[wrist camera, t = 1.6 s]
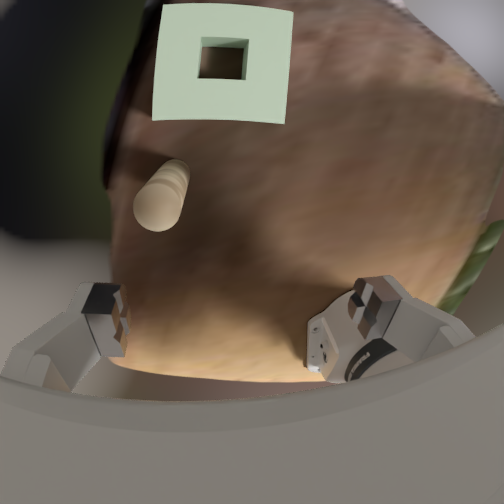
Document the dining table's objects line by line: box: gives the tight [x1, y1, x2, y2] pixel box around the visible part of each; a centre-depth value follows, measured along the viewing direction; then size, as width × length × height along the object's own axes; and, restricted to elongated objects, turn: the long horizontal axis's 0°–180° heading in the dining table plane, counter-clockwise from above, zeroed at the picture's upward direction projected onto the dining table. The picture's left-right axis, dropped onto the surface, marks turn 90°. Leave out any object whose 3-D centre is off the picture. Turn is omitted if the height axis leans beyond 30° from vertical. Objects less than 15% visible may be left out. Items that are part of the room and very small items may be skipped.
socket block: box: [152, 3, 293, 124], centre depth 25 cm, size 14×14×4 cm
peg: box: [133, 159, 190, 231], centre depth 27 cm, size 4×4×13 cm
